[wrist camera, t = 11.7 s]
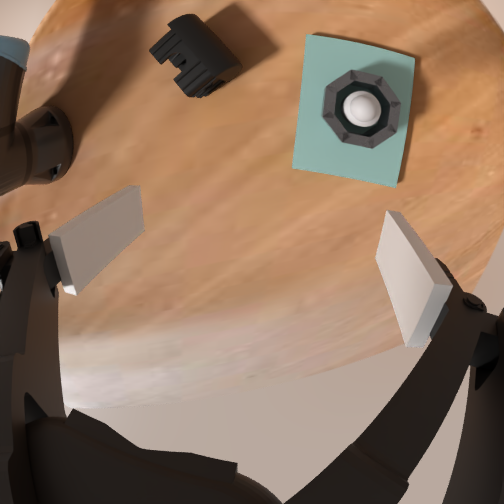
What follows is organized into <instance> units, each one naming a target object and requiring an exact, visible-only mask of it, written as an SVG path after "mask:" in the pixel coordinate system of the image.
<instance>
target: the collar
mask: <svg viewBox="0 0 504 504" xmlns="http://www.w3.org/2000/svg"><path fill="white" fill-rule="evenodd" d="M348 85H353V86H358V87H362V88H367V89H369V90H370V92H371V93H372V94H373V96H375V97H376V99H377V100H378V101H379V104H380V107H381V114H380V117H379V119H378V124H377V125H375V126H374V127H372V128H371V129H369V130H368V131H366V132H365V133H363V134H360V133H355V132H350V131H346V129H345V128H344V127H343V125H342V124H341V123H340V121H339V120H338V119H337V117H336V116H335V115H334V112H335V103H336V95H337V92H339V91H340V90H342V89H343V88H345V87H346V86H348ZM400 108H401V102H400V101H399V99H398V98H397V96H396V95H395V93H394V92H393V90H392V89H391V88H390V86H389V85H388V84H387V82H386V81H385V79H384V78H383V77H382V76H378V75H374V74H370V73H365V72H361V71H356V70H352V69H351V70H349V71H348V72H346V73H345V74H343V75H342V76H340V77H339V78H337V79H336V80H334V81H333V82H331V83H330V84H328V85H327V86H326V87H325V89H324V94H323V102H322V111H321V117H322V118H323V120H324V121H325V122H326V123H327V125H328V126H329V127H330V129H331V130H332V131H333V133H334V134H335V135H336V137H337V138H338V139H339V140H340V141H341V142H342V143H347V144H352V145H357V146H362V147H366V148H371V149H373V148H375V147H376V146H378V145H379V144H381V143H382V142H384V141H385V140H387V139H388V138H390V137H391V136H393V135H394V134H396V133H397V129H398V122H399V115H400Z"/></svg>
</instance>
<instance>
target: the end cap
mask: <svg viewBox="0 0 504 504" xmlns="http://www.w3.org/2000/svg"><path fill="white" fill-rule="evenodd" d="M167 25H168V26H169V27H170V28H171V30H170V31H169V32H168V33H167V34H165V35H164V36H163V37H162V38H161V39H160V40H159V41H158V42H157V43H156V44H155V45H154V46H153V47H152V48H151V49H150V50H149V52H150V53H151V54H152V55H153V56H154V57H155V59H156V60H157V61H158V62H159V63H160V64H163V63H164V62H165V61H166V60H167V59H169V60H170V62H171V63H172V64H173V65H174V66H175V67H176V68H177V67H178V68H179V69H180V70H181V71H182V72H181V73H180V74H179V75H177V76H176V77H175V78H174V79H173V80H174V81H175V82H176V84H177V85H178V86H179V87H180V88H181V90H182V91H183V92H184V93H185V94H186V95H187V96H188V97H195V96H196V97H197V98H202V97H203V96H208V95H210V94H211V93H212V92H213V91H215V90H216V89H217V88H218V87H220V86H221V85H222V84H223V83H225V82H226V81H227V82H229V81H230V80H232V79H233V78H234V77H235V76H236V75H237V74H238V73H239V72H240V70H241V68H242V64H241V63H240V62H239V60H238V59H237V58H236V57H235V56H234V55H233V54H232V53H231V51H230V50H229V49H228V48H227V47H226V46H225V45H224V44H223V43H222V41H221V40H220V39H219V38H218V37H217V36H216V35H215V34H214V33H213V32H212V31H211V30H210V29H209V28H208V27H207V26H206V25H205V24H204V22H203V21H202V20H201V19H200V18H199V17H198V16H197V15H195V14H186V15H182V16H180V17H178V18H176V19H174V20H173V21H171V22H170V23H168V24H167Z"/></svg>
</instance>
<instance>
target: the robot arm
mask: <svg viewBox="0 0 504 504" xmlns="http://www.w3.org/2000/svg"><path fill="white" fill-rule="evenodd" d="M29 52H30V46H29V44H28V42H27V41H25V40H23V39H19V38H14V37H9V36H1V35H0V196H2V195H4V194H6V193H8V192H10V191H12V190H14V189H16V188H18V187H21V186H23V185H35V184H49V183H52V182H54V181H57V180H59V179H60V178H62V177H63V176H64V174H65V173H66V172H67V170H68V168H69V165H70V163H71V159H72V154H73V136H72V130H71V127H70V124H69V121H68V119H67V117H66V116H65V114H64V113H63V112H62V111H61V110H60V109H59V108H57V107H55V106H45V107H40V108H37V109H35V110H33V111H32V112H30V113H28V114H27V115H25V116H24V117H22V118H21V119H19V120H18V121H16V116H17V110H18V104H19V98H20V93H21V88H22V83H23V79H24V75H25V72H26V70H27V67H26V65H27V60H28V56H29ZM144 231H145V229H144V221H143V211H142V201H141V189H140V186H133V185H129V186H127V187H125V188H123V189H122V190H120V191H118V192H116V193H115V194H113V195H111V196H109V197H108V198H106V199H104V200H102V201H101V202H99V203H97V204H96V205H94V206H92V207H91V208H89V209H87V210H86V211H84V212H83V213H81V214H79V215H78V216H76V217H75V218H73V219H72V220H70V221H68V222H67V223H65V224H64V225H62V226H61V227H59V228H58V229H56V230H55V231H53V232H52V233H50V234H49V235H48V236H49V238H48V239H46V240H45V241H44V242H43V239H42V235H41V230H40V226H39V222H38V221H29V222H26V223H23V224H21V225H19V226H17V227H16V228H15V229H14V230H13V233H14V236H15V240H16V243H17V247H18V249H17V251H12V249H11V246H10V243H9V242H8V241H4V242H0V288H1V292H0V504H282V503H281V501H280V500H279V499H278V498H277V497H276V496H275V495H274V494H273V493H271V492H270V491H269V490H268V489H267V488H265V487H264V486H262V485H261V484H259V483H257V482H256V481H254V480H252V479H250V478H249V477H247V476H244V475H242V474H240V473H237V463H235V462H229V461H224V460H219V459H214V458H210V457H206V456H202V455H197V454H194V453H186V452H169V451H157V450H146V449H142V448H139V447H137V446H135V445H134V444H133V443H131V442H130V441H128V440H127V439H126V438H124V437H123V436H121V435H120V434H119V433H117V432H116V431H115V430H113V429H112V428H111V427H109V426H108V425H107V424H105V423H103V422H101V421H98V420H96V419H94V418H92V417H90V416H87V415H85V414H83V413H81V412H79V411H77V410H75V409H72V411H71V413H70V414H69V416H68V417H66V414H65V410H64V403H63V395H62V386H61V376H60V363H59V344H58V297H59V292H58V289H57V286H56V285H57V284H58V283H59V282H60V281H61V282H62V285H63V288H64V291H65V292H67V293H70V294H74V295H78V294H79V293H80V292H81V291H82V290H83V289H84V288H85V287H86V286H87V285H88V284H89V283H90V282H91V281H92V280H93V279H94V278H95V277H96V276H97V275H98V274H99V273H100V272H101V271H102V270H103V269H104V268H105V267H106V266H107V265H108V264H109V263H110V262H111V261H112V260H113V259H114V258H115V257H116V256H117V255H119V254H120V253H121V252H122V251H123V250H124V249H125V248H126V247H127V246H128V245H129V244H130V243H132V242H133V241H134V240H135V239H136V238H137V237H138V236H139V235H140V234H142V233H143V232H144ZM375 259H376V261H377V264H378V266H379V269H380V272H381V274H382V277H383V280H384V282H385V285H386V288H387V291H388V293H389V296H390V299H391V302H392V305H393V308H394V311H395V314H396V317H397V320H398V323H399V326H400V330H401V333H402V336H403V339H404V343H405V346H406V347H424V345H425V343H426V341H427V339H428V337H429V336H430V337H431V339H432V341H431V342H430V344H429V346H428V347H427V349H426V350H425V352H424V353H423V355H422V356H421V358H420V359H419V361H418V363H417V364H416V365H415V367H414V368H413V370H412V371H411V373H410V374H409V375H408V377H407V379H406V380H405V381H404V383H403V384H402V385H401V387H400V388H399V389H398V391H397V392H396V393H395V394H394V396H393V397H392V398H391V400H390V401H389V402H388V404H387V405H386V406H385V407H384V408H383V410H382V411H381V412H380V413H379V415H378V416H377V417H376V418H375V419H374V420H373V422H372V423H371V424H370V425H369V426H368V427H367V428H366V430H365V431H364V432H363V433H362V434H361V435H360V436H359V437H358V438H357V439H356V441H354V442H353V443H352V444H350V445H349V446H348V447H347V448H346V449H345V450H344V451H343V452H342V453H341V454H340V455H339V456H338V457H337V458H336V459H335V460H334V461H333V462H332V463H331V464H330V465H328V467H326V468H325V469H324V470H323V471H322V472H321V473H320V474H319V475H318V476H316V477H315V478H314V479H313V480H312V481H311V482H310V483H308V485H306V486H305V487H304V488H303V489H301V490H300V491H299V492H298V493H297V494H295V495H294V496H293V497H292V498H290V499H289V500H288V501H286V502H285V503H284V504H397V503H398V502H399V501H400V500H401V498H402V497H403V495H404V493H405V492H406V491H407V489H408V486H409V483H408V482H407V480H408V478H409V476H410V475H411V473H412V472H413V470H414V469H415V467H416V466H417V464H418V463H419V461H420V460H421V458H422V457H423V455H424V453H425V452H426V450H427V449H428V447H429V445H430V444H431V442H432V440H433V439H434V437H435V435H436V433H437V432H438V430H439V428H440V426H441V424H442V422H443V420H444V418H445V417H446V415H447V413H448V411H449V409H450V407H451V405H452V403H453V401H454V398H455V396H456V394H457V392H458V390H459V388H460V385H461V383H462V381H463V378H464V376H465V374H466V371H467V369H468V366H469V365H470V379H469V389H468V397H467V405H466V412H465V418H464V424H463V429H462V434H461V439H460V444H459V449H458V452H457V457H456V461H455V464H454V468H453V472H452V475H451V479H450V482H449V485H448V488H447V491H446V494H445V497H444V500H443V503H442V504H504V308H503V309H502V311H501V313H500V315H499V316H496V315H493V314H490V313H487V309H486V306H485V304H484V303H483V302H482V300H480V299H479V298H478V297H476V296H475V295H473V294H470V293H466V292H463V290H462V289H461V287H460V286H459V284H458V283H457V281H456V280H455V279H454V277H453V275H452V274H451V273H450V271H449V269H448V268H447V266H446V265H445V264H444V263H442V262H441V261H440V260H439V259H438V258H434V257H433V255H432V254H431V252H430V251H429V250H428V248H427V247H426V245H425V244H424V243H423V241H422V240H421V239H420V237H419V236H418V235H417V233H416V232H415V231H414V229H413V228H412V227H411V225H410V224H409V223H408V222H407V220H406V219H405V218H404V216H403V215H402V214H401V213H400V212H396V211H390V210H387V211H386V215H385V220H384V224H383V229H382V233H381V237H380V241H379V245H378V249H377V253H376V257H375Z"/></svg>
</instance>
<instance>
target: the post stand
mask: <svg viewBox="0 0 504 504" xmlns="http://www.w3.org/2000/svg"><path fill="white" fill-rule="evenodd" d="M414 65H415V58H413V57H409V56H406V55H403V54H400V53H396V52H393V51H389V50H386V49H382V48H378V47H374V46H370V45H366V44H361V43H356V42H352V41H347V40H341V39H336V38H330V37H323V36H316V35H309V34H306V43H305V54H304V65H303V75H302V85H301V94H300V104H299V113H298V121H297V130H296V139H295V147H294V155H293V163H292V168H294V169H301V170H307V171H313V172H319V173H325V174H330V175H336V176H341V177H346V178H352V179H357V180H362V181H366V182H371V183H376V184H380V185H385V186H389V187H393V188H396V185H397V180H398V176H399V171H400V166H401V161H402V156H403V151H404V145H405V139H406V133H407V127H408V120H409V113H410V105H411V97H412V88H413V78H414ZM351 69H352V70H356V71H361V72H365V73H370V74H374V75H378V76H382V77H383V78H384V79H385V81H386V82H387V84H388V85H389V86H390V88H391V89H392V90H393V92H394V93H395V95H396V96H397V98H398V99H399V101H400V102H401V108H400V115H399V122H398V129H397V133H396V134H394V135H393V136H391V137H390V138H388V139H387V140H385V141H384V142H382V143H381V144H379V145H378V146H376V147H375V148H373V149H371V148H366V147H362V146H357V145H352V144H347V143H342V142H341V141H340V140H339V139H338V138H337V137H336V135H335V134H334V133H333V131H332V130H331V129H330V127H329V126H328V125H327V123H326V122H325V121H324V120H323V118H322V117H321V111H322V102H323V94H324V89H325V87H326V86H327V85H328V84H330V83H331V82H333V81H334V80H336V79H337V78H339V77H340V76H342V75H343V74H345V73H346V72H348V71H349V70H351ZM380 114H381V107H380V104H379V101H378V100H377V99H376V97H375V96H373V94H372V93H371V92H370V90H369V89H367V88H362V87H358V86H353V85H348V86H346V87H345V88H343V89H342V90H340V91H339V92H337V95H336V103H335V112H334V115H335V116H336V117H337V119H338V120H339V121H340V123H341V124H342V125H343V127H344V128H345V129H346V131H350V132H355V133H360V134H363V133H365V132H366V131H368V130H369V129H371V128H372V127H374V126H375V125H377V124H378V119H379V117H380Z"/></svg>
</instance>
